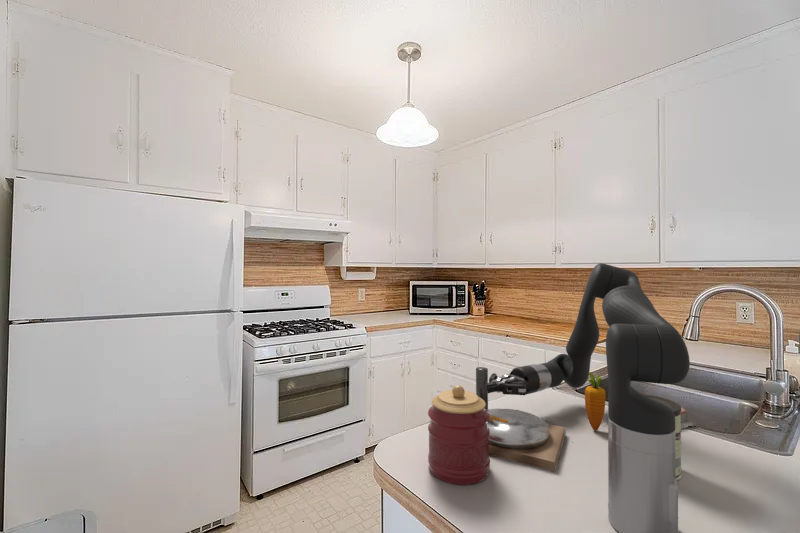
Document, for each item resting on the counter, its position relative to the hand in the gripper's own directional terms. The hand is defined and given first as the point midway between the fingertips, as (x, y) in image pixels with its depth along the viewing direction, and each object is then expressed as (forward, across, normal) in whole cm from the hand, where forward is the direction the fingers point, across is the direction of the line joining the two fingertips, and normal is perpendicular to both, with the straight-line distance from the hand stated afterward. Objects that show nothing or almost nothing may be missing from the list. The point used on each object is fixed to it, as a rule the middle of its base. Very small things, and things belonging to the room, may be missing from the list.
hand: (483, 389), depth 97 cm
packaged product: (-43, +19, +12) cm, 48 cm away
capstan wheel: (-1, +8, +8) cm, 12 cm away
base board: (-1, +8, +10) cm, 13 cm away
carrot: (-24, +15, +11) cm, 31 cm away
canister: (+17, +12, +10) cm, 24 cm away
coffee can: (-19, +32, +11) cm, 38 cm away
